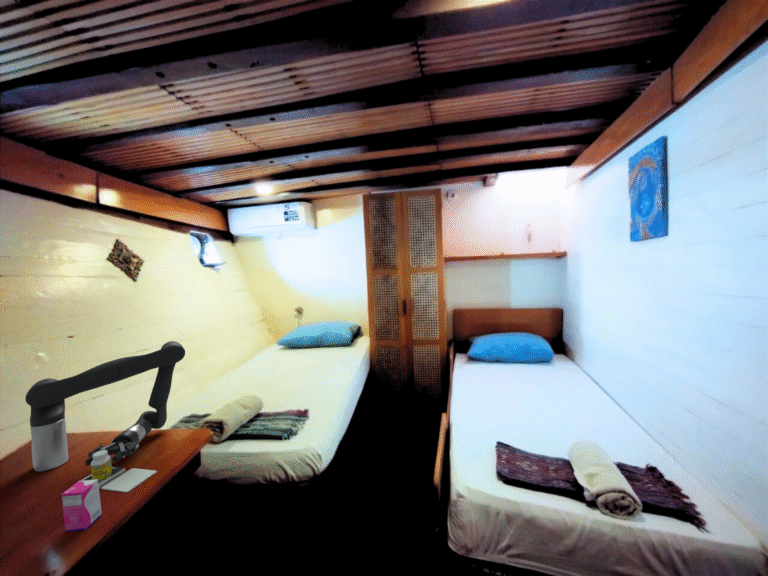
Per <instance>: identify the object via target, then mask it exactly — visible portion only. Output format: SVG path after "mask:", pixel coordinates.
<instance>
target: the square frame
mask: <svg viewBox="0 0 768 576" xmlns="http://www.w3.org/2000/svg"><path fill="white" fill-rule="evenodd" d="M124 473H126V467H117V466H112V475H110V476H109V477H107V478H105V479H104V480H102V481H101V482H98V486H99V489H101V488H102V487H103V486H105V485H106V484H108V483H110V482H111V481H113V480H114V479H116V478H118V477H119V476H121V475H122V474H124ZM87 480H92V473H90V474H89V475H87V476H85V477H84V478H82V479H80V480H79V481H87Z"/></svg>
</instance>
